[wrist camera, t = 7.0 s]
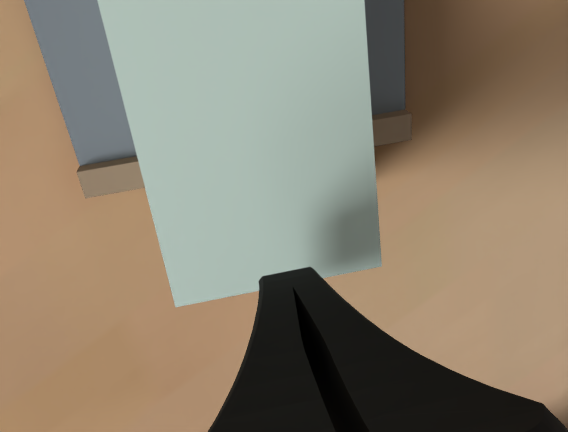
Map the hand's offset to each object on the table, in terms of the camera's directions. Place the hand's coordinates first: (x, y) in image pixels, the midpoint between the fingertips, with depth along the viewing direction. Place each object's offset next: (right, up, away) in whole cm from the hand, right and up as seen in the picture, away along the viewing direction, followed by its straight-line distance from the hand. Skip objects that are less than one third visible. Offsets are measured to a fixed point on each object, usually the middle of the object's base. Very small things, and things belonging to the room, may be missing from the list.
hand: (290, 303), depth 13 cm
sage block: (-1, +1, +4) cm, 4 cm away
